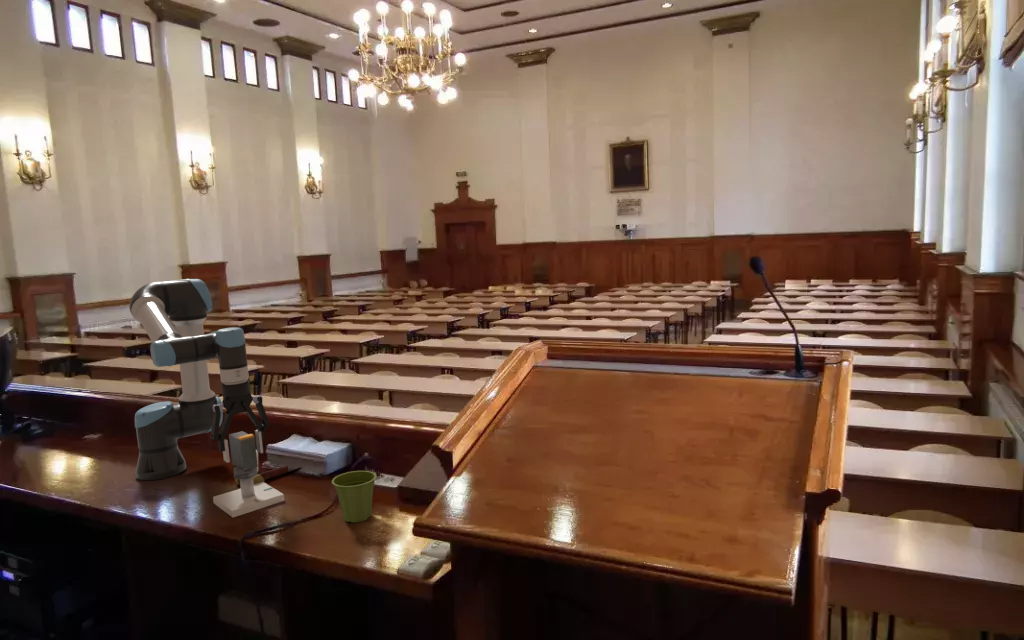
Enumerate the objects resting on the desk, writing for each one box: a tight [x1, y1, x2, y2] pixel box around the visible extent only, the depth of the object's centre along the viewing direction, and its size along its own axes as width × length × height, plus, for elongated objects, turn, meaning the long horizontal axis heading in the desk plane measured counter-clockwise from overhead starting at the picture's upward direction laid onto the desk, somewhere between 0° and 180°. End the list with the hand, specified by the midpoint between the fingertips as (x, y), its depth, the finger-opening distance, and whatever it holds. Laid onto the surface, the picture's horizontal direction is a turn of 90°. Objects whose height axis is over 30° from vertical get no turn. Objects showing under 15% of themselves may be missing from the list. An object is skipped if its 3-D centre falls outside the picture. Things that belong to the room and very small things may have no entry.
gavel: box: [234, 465, 288, 486], centre depth 213 cm, size 21×5×10 cm
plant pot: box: [331, 470, 378, 524], centre depth 179 cm, size 12×12×11 cm
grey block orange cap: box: [228, 430, 259, 480], centre depth 192 cm, size 9×6×13 cm
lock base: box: [212, 477, 285, 518], centre depth 194 cm, size 15×15×8 cm
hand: (243, 456), depth 192 cm, fingers open, 9 cm apart
